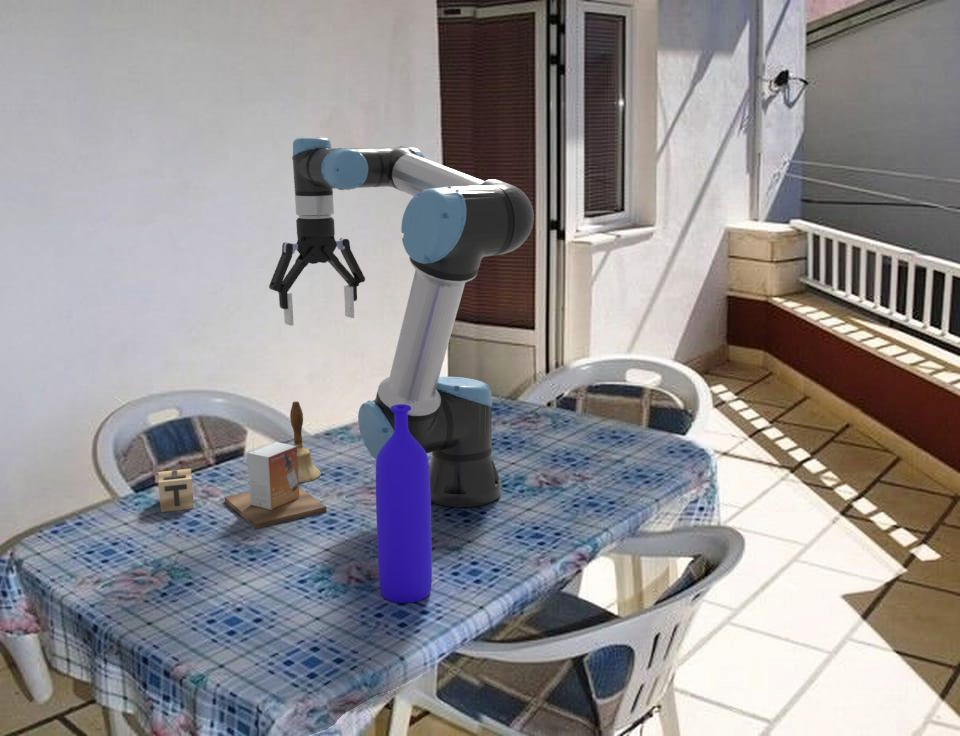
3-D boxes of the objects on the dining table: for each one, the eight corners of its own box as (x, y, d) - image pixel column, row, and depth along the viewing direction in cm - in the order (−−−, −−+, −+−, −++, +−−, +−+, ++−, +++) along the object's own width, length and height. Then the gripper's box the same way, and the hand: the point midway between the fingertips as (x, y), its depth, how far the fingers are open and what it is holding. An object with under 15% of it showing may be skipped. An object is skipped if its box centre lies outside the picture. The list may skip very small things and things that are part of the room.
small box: (271, 511, 180) (267, 457, 177) (249, 505, 183) (245, 452, 180) (300, 497, 186) (297, 445, 184) (279, 492, 189) (276, 440, 187)
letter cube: (194, 508, 184) (191, 478, 183) (161, 512, 182) (158, 481, 181) (193, 497, 190) (190, 467, 188) (161, 501, 188) (158, 470, 187)
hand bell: (272, 480, 199) (267, 405, 195) (294, 467, 206) (290, 395, 203) (307, 485, 196) (303, 409, 192) (328, 471, 203) (324, 398, 200)
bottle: (425, 607, 145) (420, 415, 138) (372, 602, 147) (365, 412, 140) (438, 582, 153) (434, 400, 146) (388, 578, 155) (382, 397, 148)
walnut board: (326, 511, 182) (326, 506, 182) (255, 528, 174) (255, 523, 174) (292, 486, 195) (292, 482, 195) (224, 501, 187) (224, 496, 187)
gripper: (362, 212, 204) (365, 311, 209) (248, 218, 190) (255, 324, 195) (378, 214, 198) (382, 316, 203) (263, 221, 184) (269, 330, 189)
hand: (320, 320), depth 199 cm, fingers open, 13 cm apart
